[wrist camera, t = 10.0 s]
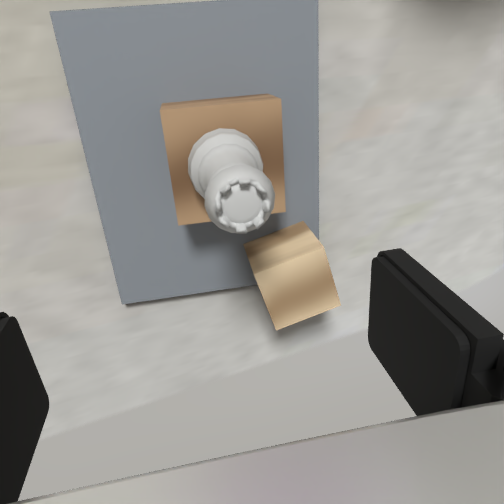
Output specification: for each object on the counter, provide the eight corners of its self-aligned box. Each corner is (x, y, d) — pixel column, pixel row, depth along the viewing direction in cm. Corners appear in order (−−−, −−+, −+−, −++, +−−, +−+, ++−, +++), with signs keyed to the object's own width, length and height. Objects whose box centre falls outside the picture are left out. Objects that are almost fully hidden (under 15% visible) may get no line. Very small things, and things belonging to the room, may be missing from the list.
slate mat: (53, 12, 25) (49, 11, 24) (314, -5, 26) (318, -7, 26) (123, 299, 33) (122, 304, 33) (316, 271, 35) (318, 275, 34)
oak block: (243, 244, 32) (253, 274, 28) (303, 220, 32) (323, 247, 28) (263, 294, 34) (276, 330, 30) (319, 273, 34) (341, 305, 30)
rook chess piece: (273, 175, 26) (309, 220, 19) (212, 212, 26) (226, 270, 19) (236, 111, 24) (262, 134, 17) (172, 152, 24) (170, 192, 17)
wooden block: (162, 103, 27) (159, 110, 23) (267, 93, 28) (281, 98, 24) (178, 205, 30) (178, 225, 26) (273, 193, 31) (285, 211, 27)
